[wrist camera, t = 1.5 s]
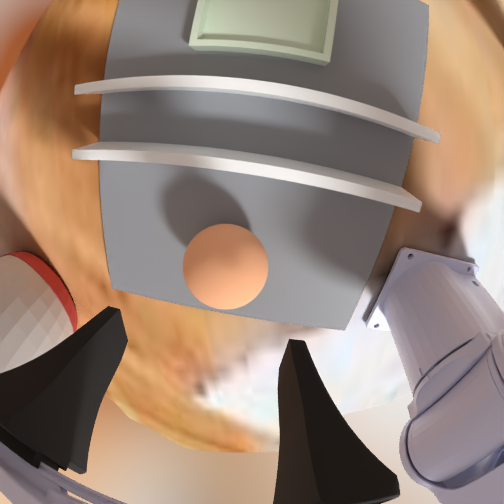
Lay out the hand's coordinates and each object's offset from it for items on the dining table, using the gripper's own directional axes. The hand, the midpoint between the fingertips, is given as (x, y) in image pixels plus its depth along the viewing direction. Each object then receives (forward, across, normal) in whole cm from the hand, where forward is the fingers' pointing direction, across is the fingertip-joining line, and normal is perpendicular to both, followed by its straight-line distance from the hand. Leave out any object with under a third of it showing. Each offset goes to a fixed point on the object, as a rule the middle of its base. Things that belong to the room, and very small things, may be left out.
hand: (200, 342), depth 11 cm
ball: (+6, 0, 0) cm, 6 cm away
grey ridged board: (+10, 0, -7) cm, 12 cm away
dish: (+8, 0, -16) cm, 18 cm away
